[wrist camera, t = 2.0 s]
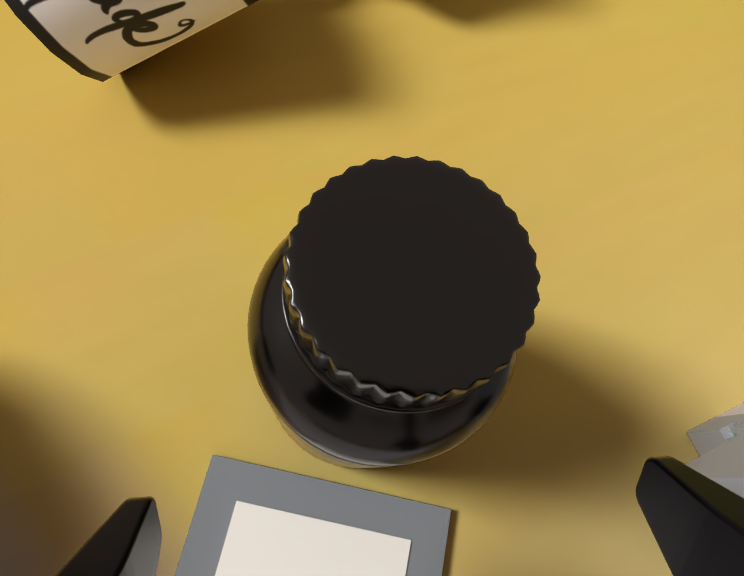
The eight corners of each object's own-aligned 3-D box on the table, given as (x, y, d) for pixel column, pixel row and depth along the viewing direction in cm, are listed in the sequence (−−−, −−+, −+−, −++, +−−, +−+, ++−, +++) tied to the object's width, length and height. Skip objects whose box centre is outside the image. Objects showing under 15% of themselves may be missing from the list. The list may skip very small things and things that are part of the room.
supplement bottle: (270, 299, 21) (229, 104, 10) (430, 296, 22) (559, 115, 11) (268, 473, 19) (213, 478, 8) (447, 462, 20) (633, 452, 8)
